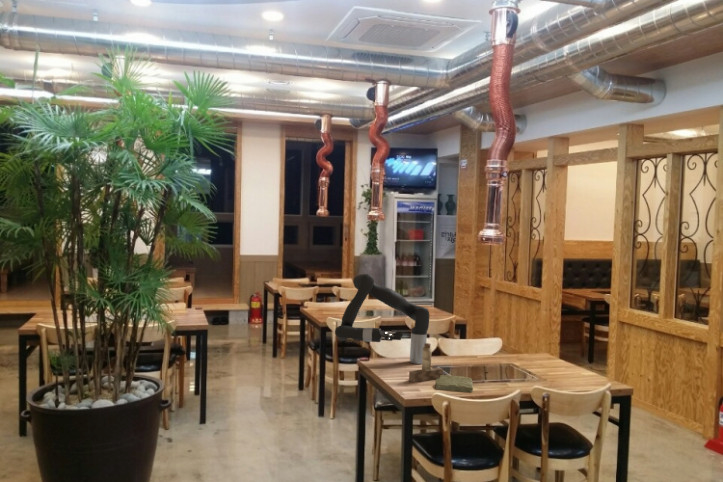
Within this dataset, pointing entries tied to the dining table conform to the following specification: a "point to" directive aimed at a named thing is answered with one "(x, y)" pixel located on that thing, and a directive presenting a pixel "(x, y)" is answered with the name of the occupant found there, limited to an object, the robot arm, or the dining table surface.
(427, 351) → the pepper mill
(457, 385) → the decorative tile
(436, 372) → the rail
